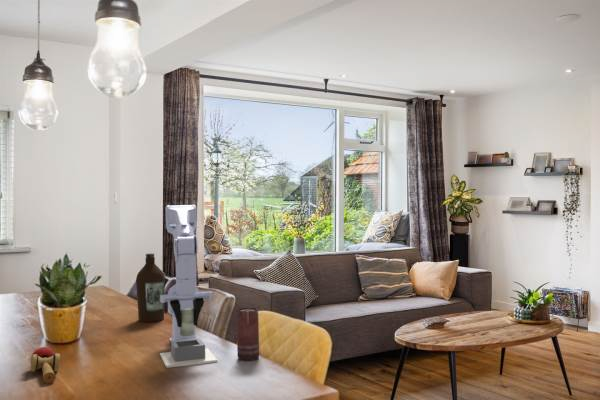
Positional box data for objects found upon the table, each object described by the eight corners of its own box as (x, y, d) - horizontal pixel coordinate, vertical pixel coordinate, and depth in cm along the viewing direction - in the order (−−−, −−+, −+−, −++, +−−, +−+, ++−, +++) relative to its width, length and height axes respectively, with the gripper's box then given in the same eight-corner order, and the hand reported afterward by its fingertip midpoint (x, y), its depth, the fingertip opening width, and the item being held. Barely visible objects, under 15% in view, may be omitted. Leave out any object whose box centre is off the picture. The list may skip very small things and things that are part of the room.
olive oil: (132, 319, 227) (131, 253, 226) (159, 315, 233) (157, 251, 233) (143, 324, 218) (141, 255, 218) (170, 320, 224) (168, 253, 224)
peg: (179, 333, 171) (178, 309, 171) (193, 332, 173) (192, 308, 173) (181, 336, 168) (181, 311, 168) (195, 335, 169) (195, 310, 169)
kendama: (69, 385, 153) (59, 359, 168) (64, 362, 151) (54, 338, 167) (36, 395, 149) (29, 368, 164) (31, 373, 148) (24, 347, 163)
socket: (160, 355, 175) (159, 340, 175) (207, 350, 179) (207, 335, 179) (166, 367, 161) (166, 351, 161) (217, 362, 166) (216, 346, 166)
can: (239, 362, 165) (238, 312, 165) (236, 356, 172) (235, 308, 171) (261, 360, 167) (260, 310, 167) (256, 354, 173) (255, 306, 173)
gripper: (162, 281, 164) (163, 331, 164) (214, 278, 169) (215, 326, 169) (159, 278, 171) (160, 325, 171) (209, 275, 176) (210, 321, 176)
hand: (187, 325), depth 170 cm, fingers closed on peg, 4 cm apart
